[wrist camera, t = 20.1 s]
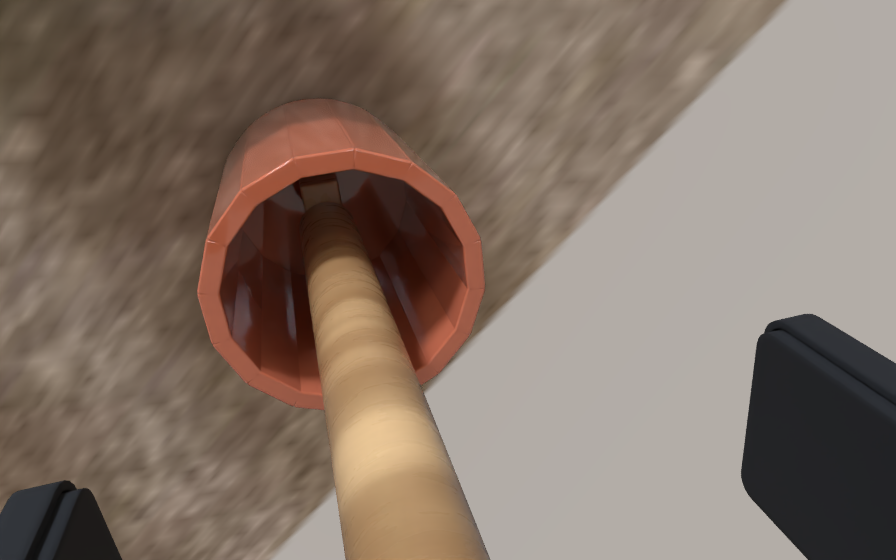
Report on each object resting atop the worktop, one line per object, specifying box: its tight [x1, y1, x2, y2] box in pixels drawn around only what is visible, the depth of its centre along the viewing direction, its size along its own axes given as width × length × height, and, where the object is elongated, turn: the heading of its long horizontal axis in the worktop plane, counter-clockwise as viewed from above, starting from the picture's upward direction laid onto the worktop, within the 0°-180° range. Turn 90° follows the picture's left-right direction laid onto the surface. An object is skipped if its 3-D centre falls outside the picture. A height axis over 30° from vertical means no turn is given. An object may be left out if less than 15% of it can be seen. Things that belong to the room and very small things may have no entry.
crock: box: [197, 98, 485, 410], centre depth 20 cm, size 7×7×9 cm
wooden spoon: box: [299, 173, 490, 560], centre depth 16 cm, size 3×2×18 cm, turn 6°
